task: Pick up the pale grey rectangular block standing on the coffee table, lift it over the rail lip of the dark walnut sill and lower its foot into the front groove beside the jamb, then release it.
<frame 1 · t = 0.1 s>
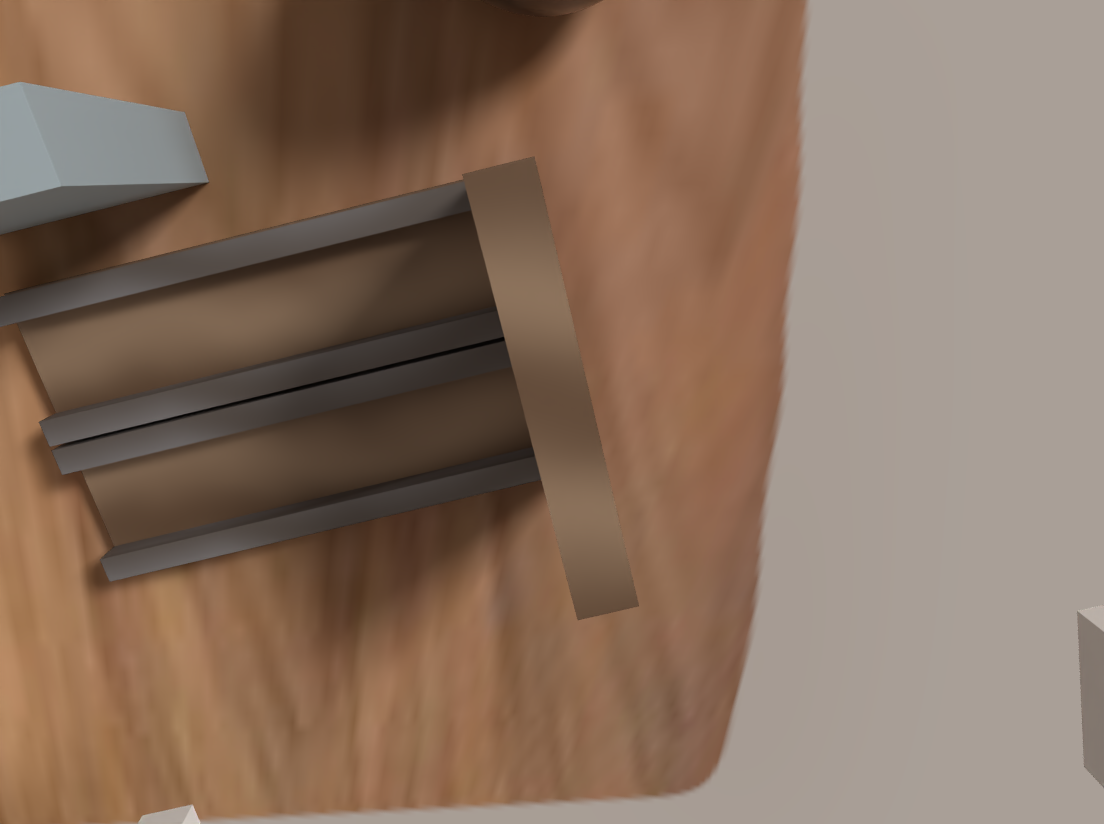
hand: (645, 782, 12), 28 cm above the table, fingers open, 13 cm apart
track sill: (319, 374, 38), on the table
pale grey rectangular block: (88, 175, 36), on the table
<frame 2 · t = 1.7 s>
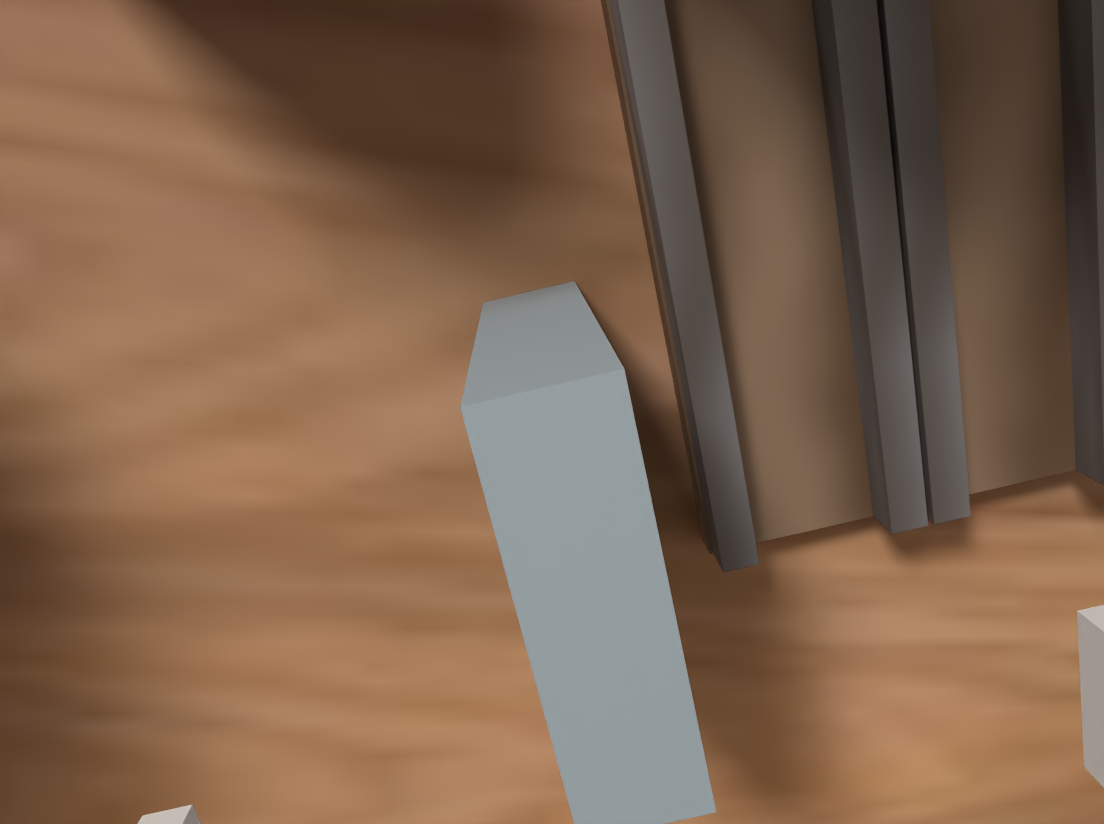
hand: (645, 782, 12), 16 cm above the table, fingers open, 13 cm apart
track sill: (859, 147, 25), on the table
pale grey rectangular block: (562, 435, 27), on the table
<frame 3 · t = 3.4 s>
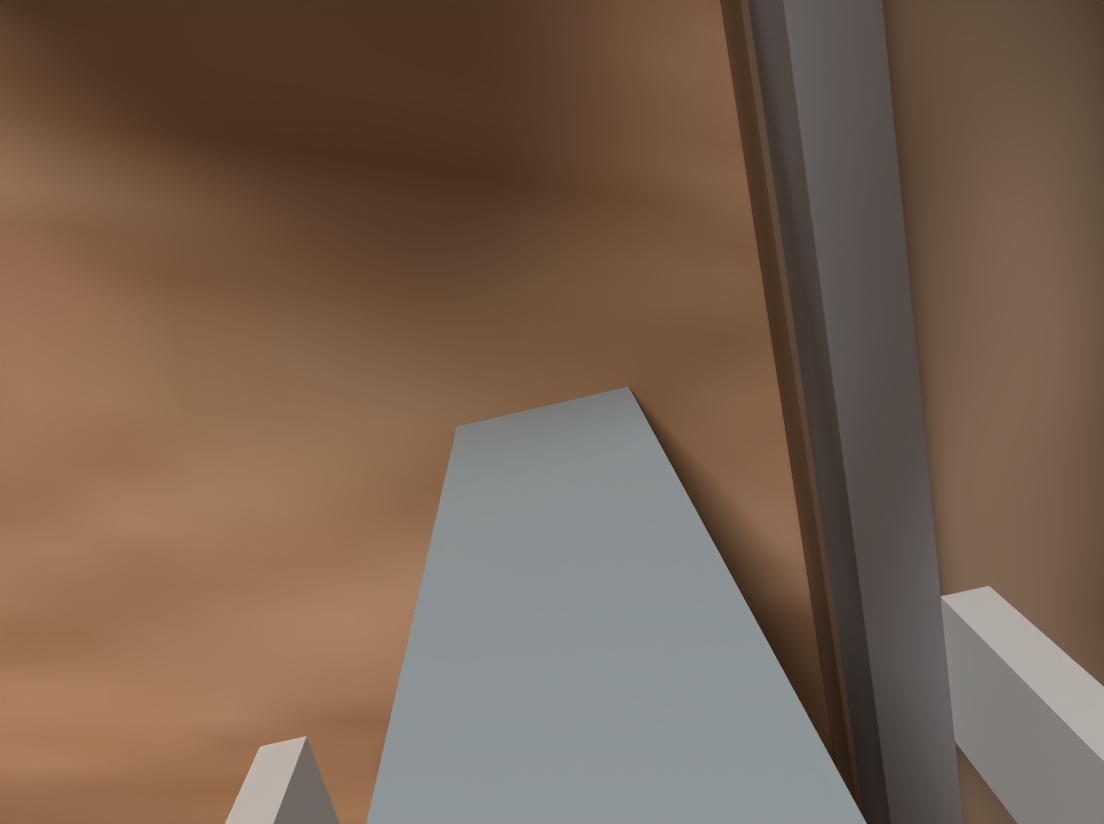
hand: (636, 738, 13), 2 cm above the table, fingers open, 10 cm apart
pale grey rectangular block: (602, 655, 15), on the table
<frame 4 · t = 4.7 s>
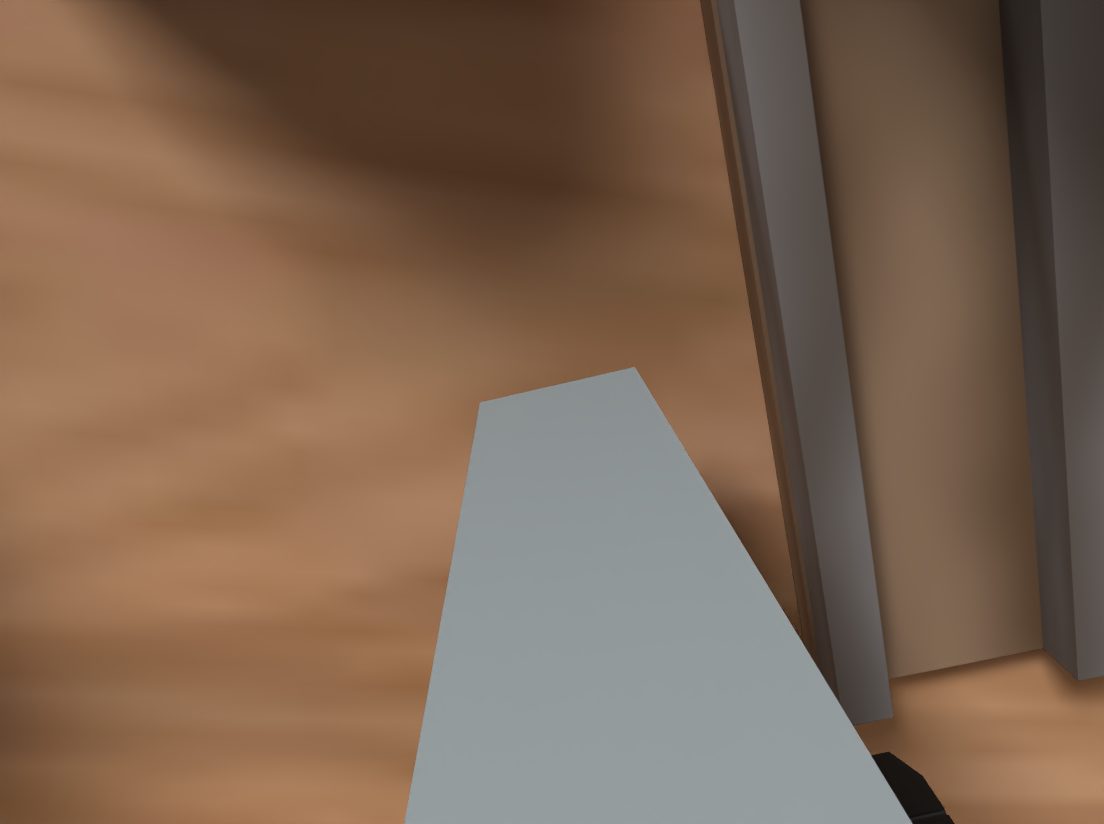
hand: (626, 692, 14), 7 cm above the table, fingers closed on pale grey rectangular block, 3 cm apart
track sill: (1043, 154, 18), on the table
pale grey rectangular block: (610, 613, 17), point 4 cm above the table, touching gripper
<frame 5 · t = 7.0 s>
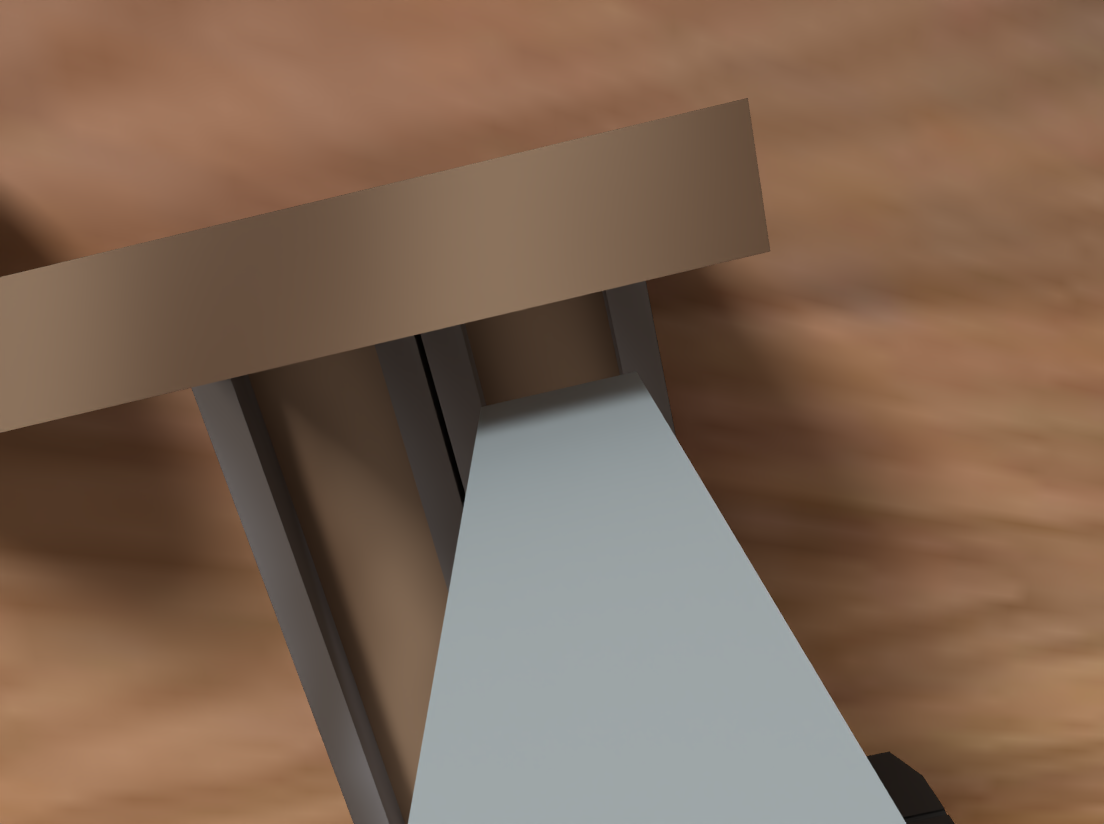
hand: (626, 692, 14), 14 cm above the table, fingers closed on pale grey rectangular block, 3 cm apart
track sill: (486, 539, 28), on the table
pale grey rectangular block: (611, 618, 17), point 11 cm above the table, touching gripper
when the fingers open (4 cm above the table, at t = 9.1 s): pale grey rectangular block stays where it is, resting on track sill.
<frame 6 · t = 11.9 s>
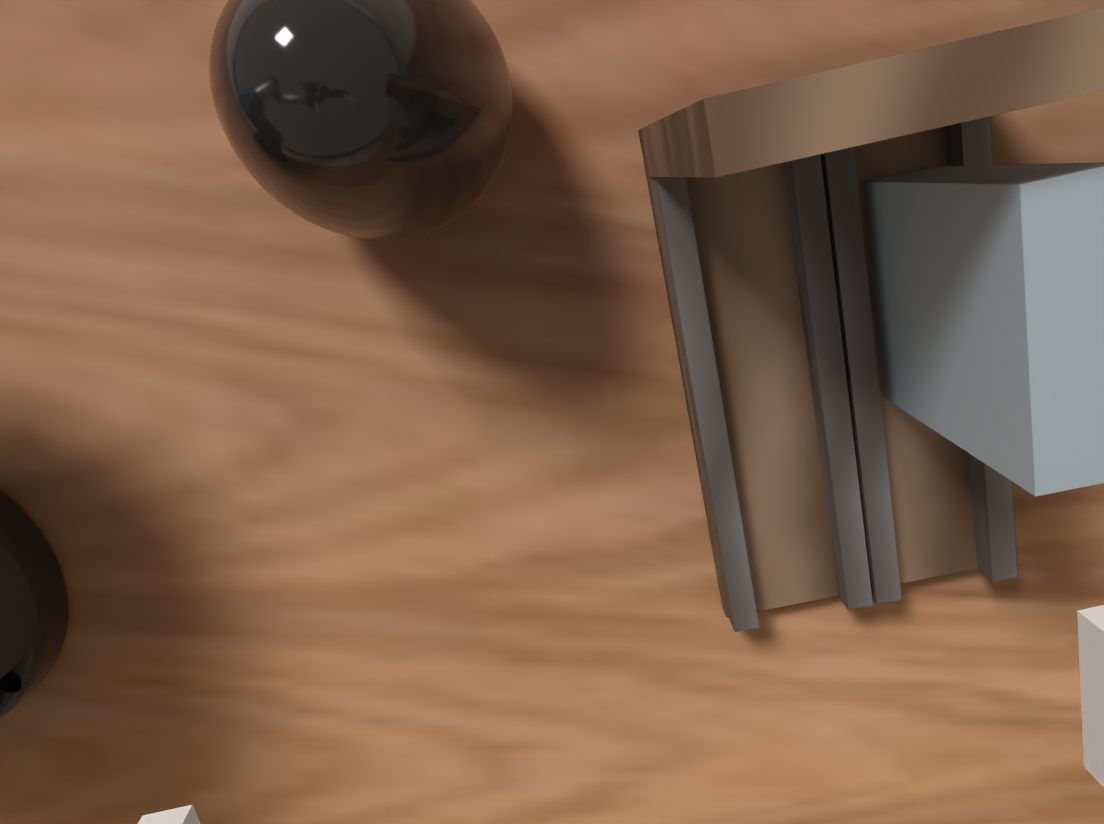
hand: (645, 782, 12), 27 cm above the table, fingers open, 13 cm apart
track sill: (829, 358, 38), on the table
pale grey rectangular block: (907, 287, 36), point 1 cm above the table, touching track sill
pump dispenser: (399, 110, 35), on the table
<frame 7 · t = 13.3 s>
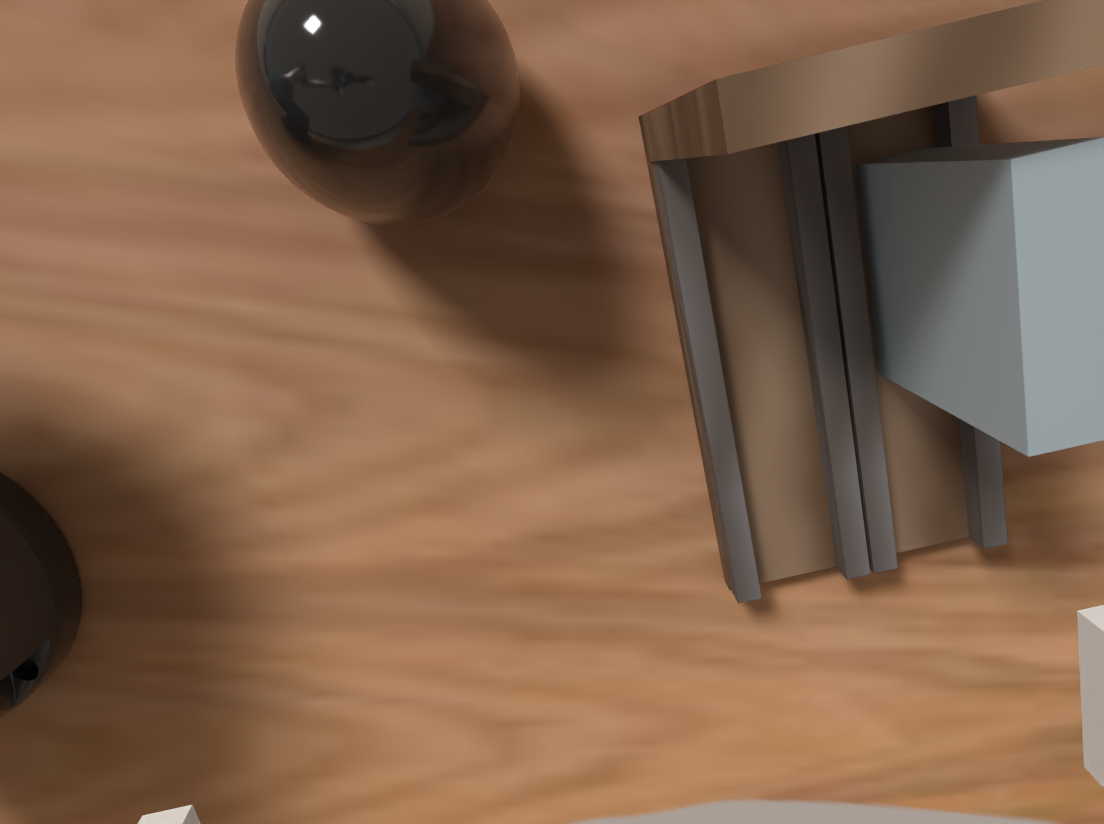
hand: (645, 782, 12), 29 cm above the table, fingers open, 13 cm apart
track sill: (825, 336, 40), on the table
pale grey rectangular block: (899, 265, 38), point 1 cm above the table, touching track sill
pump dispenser: (406, 100, 36), on the table
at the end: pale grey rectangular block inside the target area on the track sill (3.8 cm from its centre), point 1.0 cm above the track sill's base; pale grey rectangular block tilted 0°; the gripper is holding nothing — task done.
